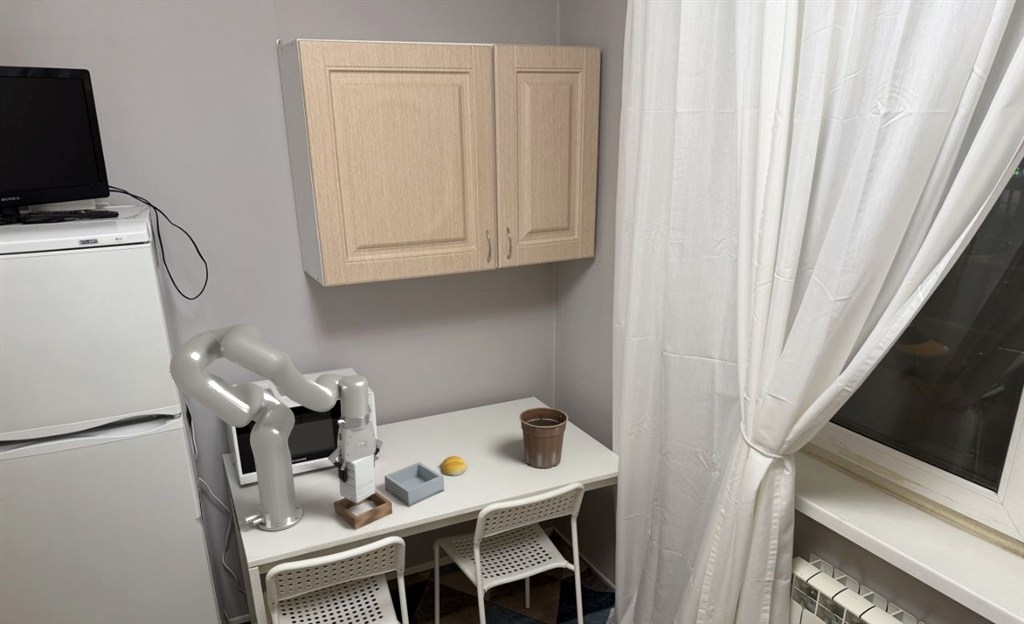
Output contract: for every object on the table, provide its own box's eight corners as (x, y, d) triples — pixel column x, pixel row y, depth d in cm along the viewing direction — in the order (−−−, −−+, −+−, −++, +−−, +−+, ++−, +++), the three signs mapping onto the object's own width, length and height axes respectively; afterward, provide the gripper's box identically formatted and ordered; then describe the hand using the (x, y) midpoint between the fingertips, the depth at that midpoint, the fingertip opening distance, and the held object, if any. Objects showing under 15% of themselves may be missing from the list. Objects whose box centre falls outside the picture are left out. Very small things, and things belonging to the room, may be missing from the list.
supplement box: (359, 485, 190) (357, 446, 187) (376, 493, 186) (374, 453, 183) (339, 495, 185) (336, 455, 181) (356, 504, 180) (354, 463, 177)
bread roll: (444, 478, 206) (443, 467, 205) (440, 465, 215) (439, 455, 214) (469, 475, 208) (469, 464, 207) (464, 462, 217) (463, 451, 216)
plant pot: (565, 449, 225) (566, 406, 221) (569, 471, 209) (569, 426, 205) (519, 449, 225) (519, 406, 221) (519, 472, 209) (519, 426, 205)
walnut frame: (355, 529, 179) (354, 518, 178) (334, 512, 187) (333, 502, 186) (392, 513, 187) (391, 502, 186) (370, 497, 195) (370, 487, 194)
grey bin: (409, 506, 190) (408, 491, 189) (385, 490, 199) (384, 475, 198) (444, 490, 198) (443, 476, 197) (419, 475, 208) (419, 461, 206)
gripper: (333, 432, 171) (335, 490, 175) (389, 415, 183) (390, 471, 187) (320, 423, 176) (322, 480, 181) (375, 407, 188) (376, 461, 192)
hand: (357, 475), depth 184 cm, fingers closed on supplement box, 8 cm apart
